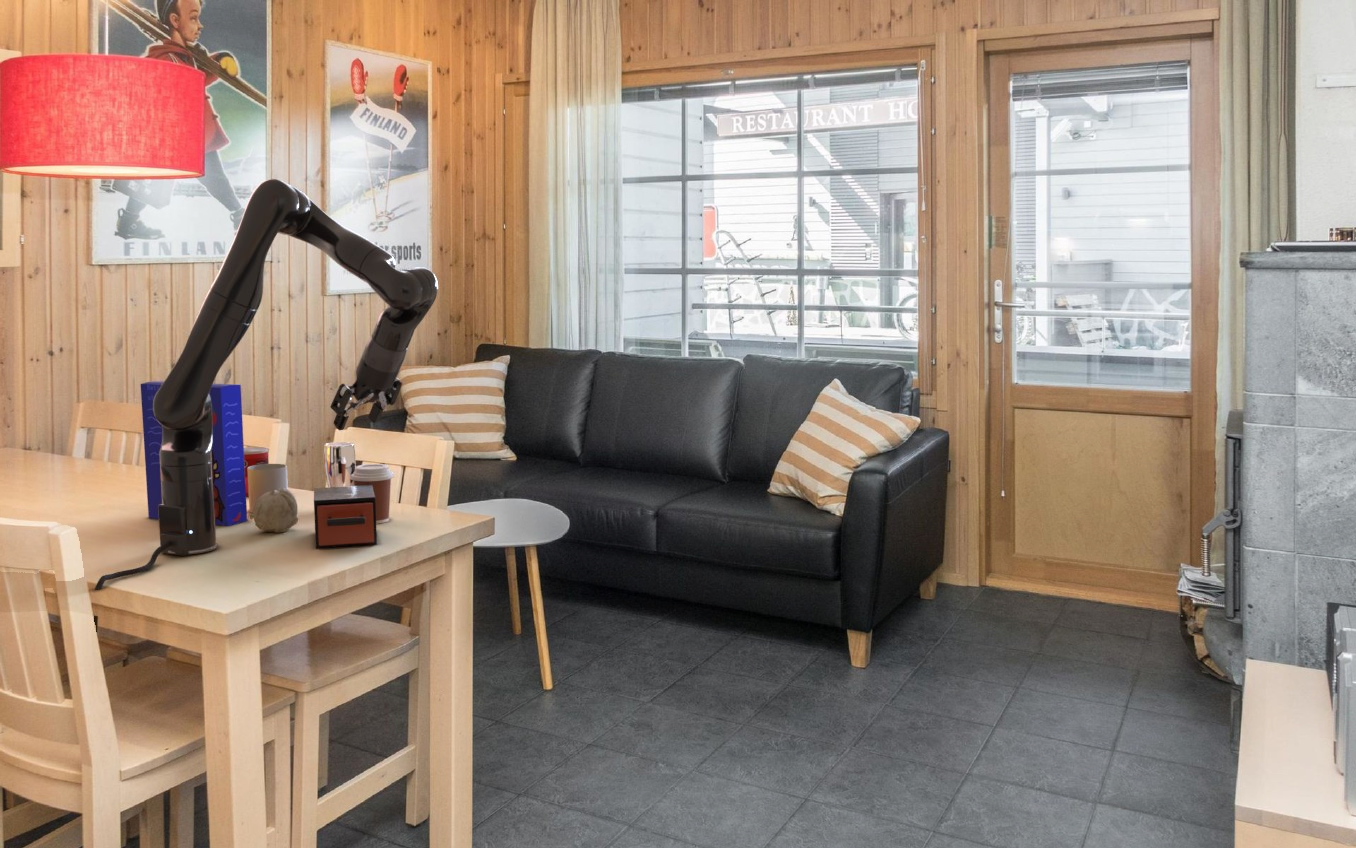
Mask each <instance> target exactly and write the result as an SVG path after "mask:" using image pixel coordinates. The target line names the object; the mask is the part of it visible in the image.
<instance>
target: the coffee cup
mask: <svg viewBox="0 0 1356 848" xmlns="http://www.w3.org/2000/svg"><path fill="white" fill-rule="evenodd" d="M394 475H395V474H394V472H393V471H391V470H390V467H389V465H388V464H384V463H367V464H359V465H356V467H355V472H354V473H353V474H351V480H354V486H364V485H372V487H373V491H374V494H375V503H376V525H378V524H383V523H387V522H389V521H390V504H391V502H390V501H391V486H392V483H391V482H392V479H393V478H395V476H394Z"/></svg>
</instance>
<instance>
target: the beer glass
mask: <svg viewBox="0 0 1356 848" xmlns="http://www.w3.org/2000/svg"><path fill="white" fill-rule="evenodd" d="M356 464H357V460H356V450H355V443H354V442H351V441H336V442H335V441H334V442H328V443H324V445H323V470H324V475H325V481H326V484H327V487H345V486H355V483H354V480H351V474H353V473H354V472H355V471H356V470H355V467H357V465H356Z"/></svg>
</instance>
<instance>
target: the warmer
mask: <svg viewBox="0 0 1356 848" xmlns="http://www.w3.org/2000/svg"><path fill="white" fill-rule="evenodd" d="M367 501H368V502H369V503H370V502H372V503H373V526H374V542H369V543H354V544H339V545H324V546H319V537H318V513H317V506H318V505H321V504H332V503H350V502H367ZM313 509H314V510H313V514H314V538H315V549H316V550H317V549H318V550H319V549H329V548H346V547H347V548H348V547H359V546H360V547H361V546H374V545H375V546H376V545H378V537H377V535H378V534H377V533H378V532H377V524H376V503H375V494H374V491H373V487H372V485H364V486H355V485H353V486H345V487H328V486H327V487H314V488H313Z"/></svg>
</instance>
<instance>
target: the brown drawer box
mask: <svg viewBox="0 0 1356 848" xmlns="http://www.w3.org/2000/svg"><path fill="white" fill-rule="evenodd" d="M317 513H318V537H319V546H324V545H339V544H354V543H369V542H374V526H373V503H372V502H370V503H369V502H368V501H367V502H350V503H332V504H321V505H318V506H317Z"/></svg>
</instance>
